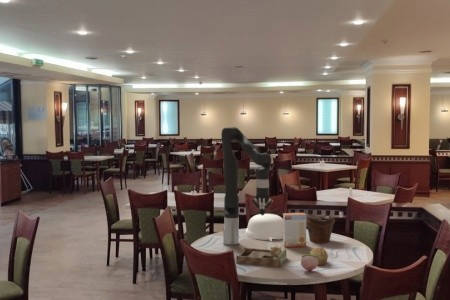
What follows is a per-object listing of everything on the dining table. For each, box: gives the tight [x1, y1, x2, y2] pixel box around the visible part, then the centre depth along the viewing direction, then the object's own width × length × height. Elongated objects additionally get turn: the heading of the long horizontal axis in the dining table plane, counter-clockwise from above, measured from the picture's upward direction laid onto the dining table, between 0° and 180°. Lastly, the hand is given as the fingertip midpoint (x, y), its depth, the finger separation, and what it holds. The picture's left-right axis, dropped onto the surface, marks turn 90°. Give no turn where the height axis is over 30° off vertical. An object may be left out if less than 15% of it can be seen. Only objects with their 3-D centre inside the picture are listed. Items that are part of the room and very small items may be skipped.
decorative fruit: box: [300, 252, 319, 272], centre depth 265 cm, size 9×8×10 cm
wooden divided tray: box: [235, 247, 287, 268], centre depth 284 cm, size 25×18×6 cm
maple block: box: [270, 244, 282, 256], centre depth 285 cm, size 5×5×5 cm
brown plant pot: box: [306, 213, 336, 244], centre depth 328 cm, size 18×20×18 cm
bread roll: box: [309, 247, 329, 266], centre depth 281 cm, size 10×15×8 cm, turn 3°
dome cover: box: [244, 213, 283, 241], centre depth 346 cm, size 32×30×14 cm
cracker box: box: [282, 212, 307, 248], centre depth 315 cm, size 14×6×21 cm, turn 95°
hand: (262, 215), depth 299 cm, fingers closed
